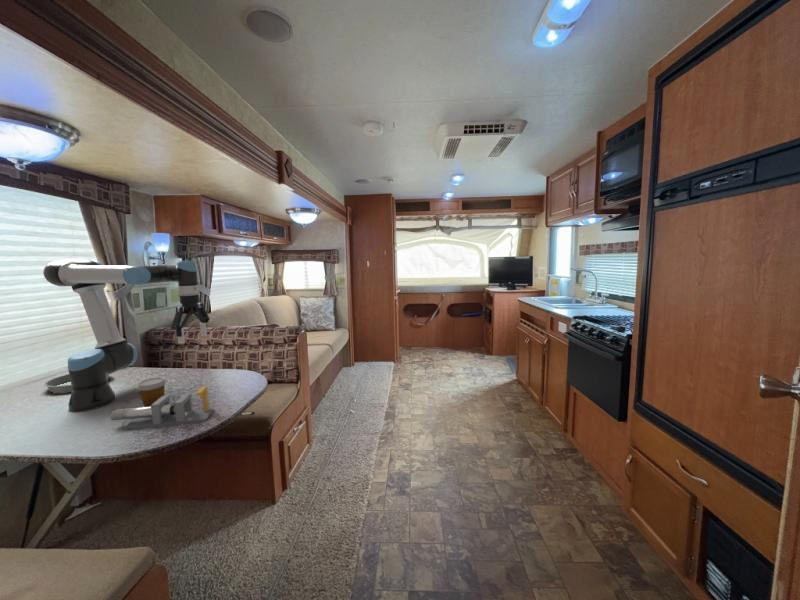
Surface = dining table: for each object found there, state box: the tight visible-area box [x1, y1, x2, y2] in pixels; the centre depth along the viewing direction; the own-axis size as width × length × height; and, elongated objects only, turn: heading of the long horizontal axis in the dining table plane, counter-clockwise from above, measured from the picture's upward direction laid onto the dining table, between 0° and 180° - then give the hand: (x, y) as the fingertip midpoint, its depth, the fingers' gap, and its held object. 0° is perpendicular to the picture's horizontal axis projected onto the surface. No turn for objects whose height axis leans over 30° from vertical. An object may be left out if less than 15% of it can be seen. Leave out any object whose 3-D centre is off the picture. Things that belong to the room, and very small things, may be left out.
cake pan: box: [44, 373, 110, 394], centre depth 166 cm, size 25×25×4 cm
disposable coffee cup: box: [137, 377, 166, 407], centre depth 137 cm, size 10×10×12 cm
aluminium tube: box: [110, 403, 176, 422], centre depth 125 cm, size 22×4×4 cm, turn 101°
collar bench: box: [122, 385, 215, 431], centre depth 127 cm, size 28×9×11 cm, turn 101°
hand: (193, 339), depth 152 cm, fingers open, 13 cm apart
